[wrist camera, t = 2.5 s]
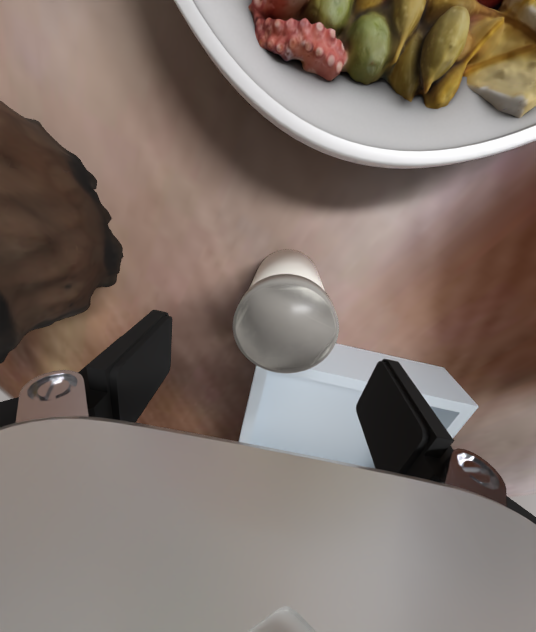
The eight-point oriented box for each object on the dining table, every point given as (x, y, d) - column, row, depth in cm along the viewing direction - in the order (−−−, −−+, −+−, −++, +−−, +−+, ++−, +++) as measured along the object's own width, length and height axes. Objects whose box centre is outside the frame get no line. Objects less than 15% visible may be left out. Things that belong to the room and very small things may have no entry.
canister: (329, 256, 20) (354, 294, 12) (309, 317, 23) (320, 382, 15) (261, 240, 20) (241, 269, 12) (249, 303, 23) (226, 361, 15)
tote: (443, 367, 24) (478, 406, 19) (371, 475, 32) (385, 520, 27) (264, 327, 24) (258, 357, 19) (237, 445, 32) (228, 486, 27)
